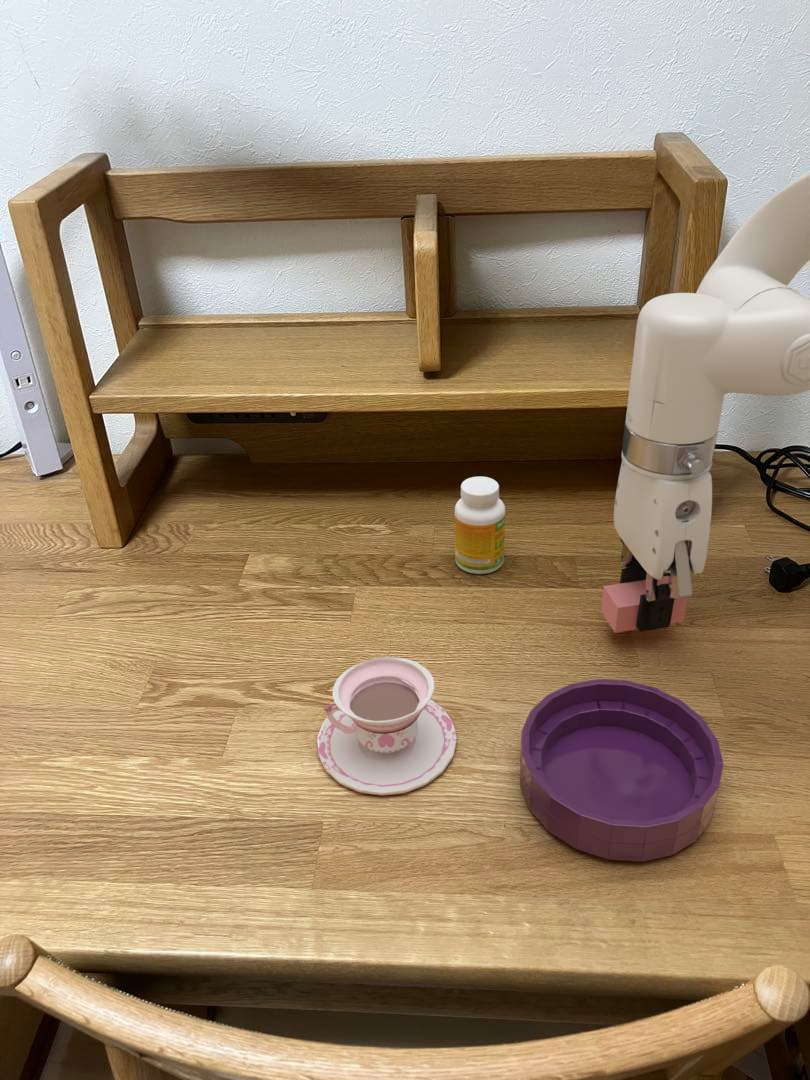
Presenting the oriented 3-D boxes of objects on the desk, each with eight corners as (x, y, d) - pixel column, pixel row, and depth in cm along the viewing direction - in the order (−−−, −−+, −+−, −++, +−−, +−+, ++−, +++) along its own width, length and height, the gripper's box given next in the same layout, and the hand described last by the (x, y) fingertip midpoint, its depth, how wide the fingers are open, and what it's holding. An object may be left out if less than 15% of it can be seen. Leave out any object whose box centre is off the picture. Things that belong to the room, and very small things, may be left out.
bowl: (661, 704, 80) (667, 666, 77) (750, 843, 67) (761, 803, 65) (496, 734, 77) (497, 696, 75) (557, 884, 65) (561, 845, 62)
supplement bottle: (502, 577, 96) (504, 499, 91) (452, 574, 97) (451, 497, 92) (505, 549, 101) (507, 473, 95) (457, 546, 102) (457, 471, 96)
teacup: (433, 682, 83) (432, 630, 80) (475, 778, 73) (476, 724, 70) (306, 709, 81) (299, 657, 77) (332, 812, 71) (325, 758, 68)
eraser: (667, 599, 88) (671, 575, 87) (683, 621, 85) (688, 596, 84) (600, 610, 87) (603, 585, 86) (614, 633, 84) (618, 607, 83)
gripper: (760, 486, 70) (721, 664, 80) (666, 399, 83) (643, 560, 94) (670, 498, 69) (642, 677, 79) (590, 408, 82) (575, 571, 92)
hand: (643, 612), depth 86 cm, fingers closed on eraser, 3 cm apart
